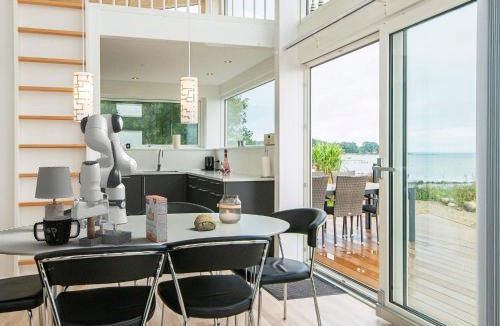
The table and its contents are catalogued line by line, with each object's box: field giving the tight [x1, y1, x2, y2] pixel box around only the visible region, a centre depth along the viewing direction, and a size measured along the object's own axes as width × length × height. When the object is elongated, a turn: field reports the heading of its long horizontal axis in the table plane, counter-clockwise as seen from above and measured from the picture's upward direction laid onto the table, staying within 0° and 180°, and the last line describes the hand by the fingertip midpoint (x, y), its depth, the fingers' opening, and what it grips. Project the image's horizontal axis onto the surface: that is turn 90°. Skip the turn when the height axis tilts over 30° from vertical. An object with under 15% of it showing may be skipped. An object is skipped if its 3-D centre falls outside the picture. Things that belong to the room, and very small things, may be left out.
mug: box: [32, 215, 81, 246], centre depth 196 cm, size 16×16×12 cm
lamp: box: [34, 166, 74, 218], centre depth 230 cm, size 19×19×34 cm
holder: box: [78, 236, 103, 247], centre depth 195 cm, size 7×7×3 cm
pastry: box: [193, 213, 217, 232], centre depth 236 cm, size 14×12×8 cm
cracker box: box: [145, 195, 168, 244], centre depth 206 cm, size 14×6×21 cm, turn 33°
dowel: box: [86, 216, 96, 239], centre depth 195 cm, size 3×3×16 cm
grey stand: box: [95, 220, 133, 245], centre depth 204 cm, size 18×10×8 cm, turn 67°
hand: (90, 226), depth 195 cm, fingers open, 8 cm apart
